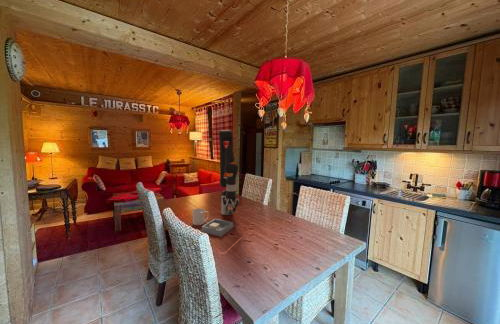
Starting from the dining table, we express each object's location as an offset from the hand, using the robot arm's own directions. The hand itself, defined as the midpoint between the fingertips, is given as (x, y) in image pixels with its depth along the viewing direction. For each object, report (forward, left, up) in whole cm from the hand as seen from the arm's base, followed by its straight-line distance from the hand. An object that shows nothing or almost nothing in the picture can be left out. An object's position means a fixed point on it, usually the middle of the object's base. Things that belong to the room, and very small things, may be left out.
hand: (230, 210), depth 159 cm
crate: (+14, -3, -11) cm, 18 cm away
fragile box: (+18, -3, -10) cm, 21 cm away
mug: (+9, -22, -12) cm, 26 cm away
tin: (0, 0, -2) cm, 2 cm away
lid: (+18, -3, -5) cm, 19 cm away
